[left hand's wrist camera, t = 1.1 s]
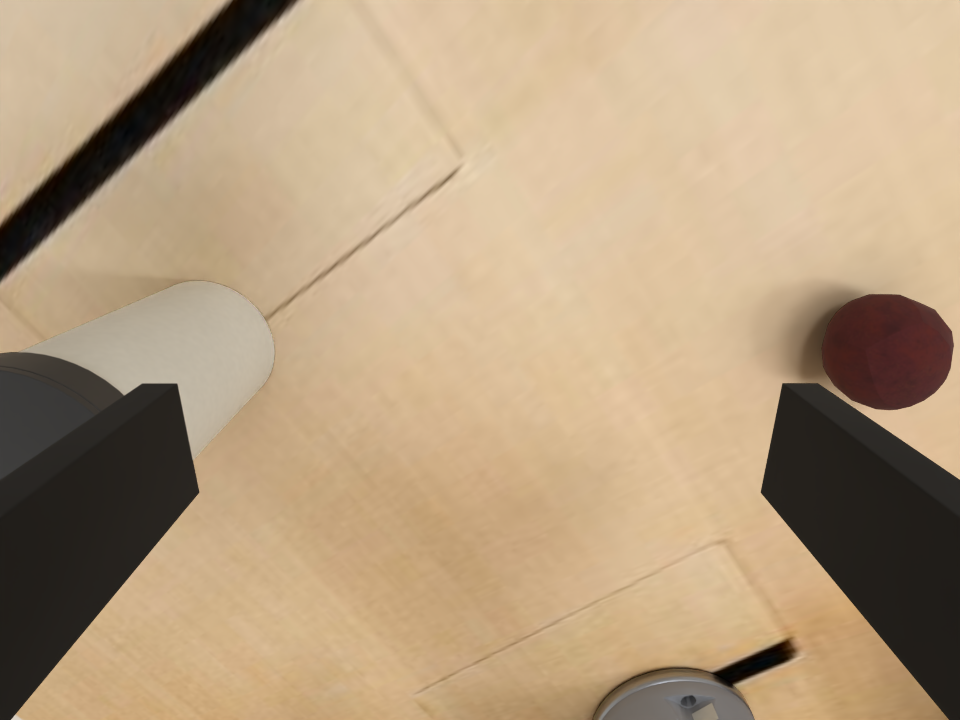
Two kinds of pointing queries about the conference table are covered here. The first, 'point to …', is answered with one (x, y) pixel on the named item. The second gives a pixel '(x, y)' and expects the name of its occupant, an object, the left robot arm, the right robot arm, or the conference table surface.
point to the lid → (44, 403)
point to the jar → (179, 351)
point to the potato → (887, 351)
